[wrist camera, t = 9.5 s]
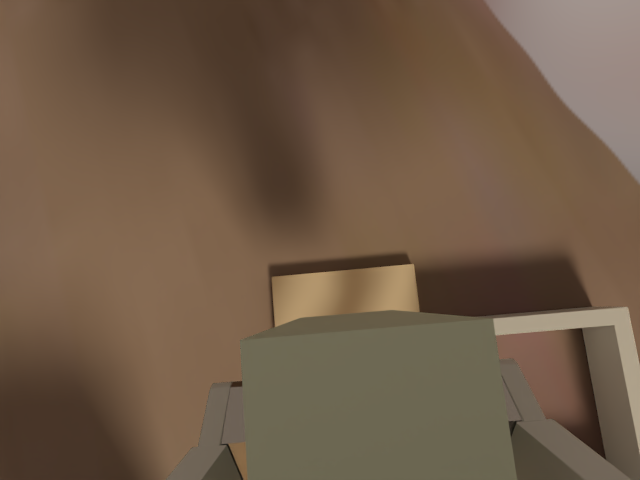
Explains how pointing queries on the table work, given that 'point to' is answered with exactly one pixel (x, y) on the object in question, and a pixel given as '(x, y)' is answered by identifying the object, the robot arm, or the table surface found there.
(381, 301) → the pad
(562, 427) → the robot arm
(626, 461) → the bin
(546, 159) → the table surface
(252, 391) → the green block
